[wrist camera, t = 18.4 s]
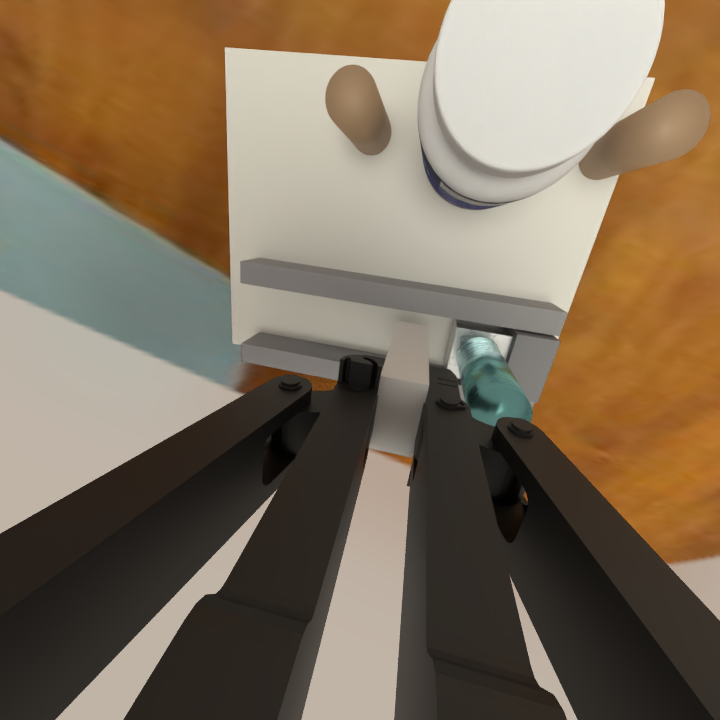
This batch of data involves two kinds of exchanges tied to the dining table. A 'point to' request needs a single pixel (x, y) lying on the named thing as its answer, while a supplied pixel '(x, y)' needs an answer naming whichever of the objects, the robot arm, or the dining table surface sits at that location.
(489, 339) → the pin
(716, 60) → the dining table surface
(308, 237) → the board
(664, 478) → the dining table surface
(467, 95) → the pill bottle
